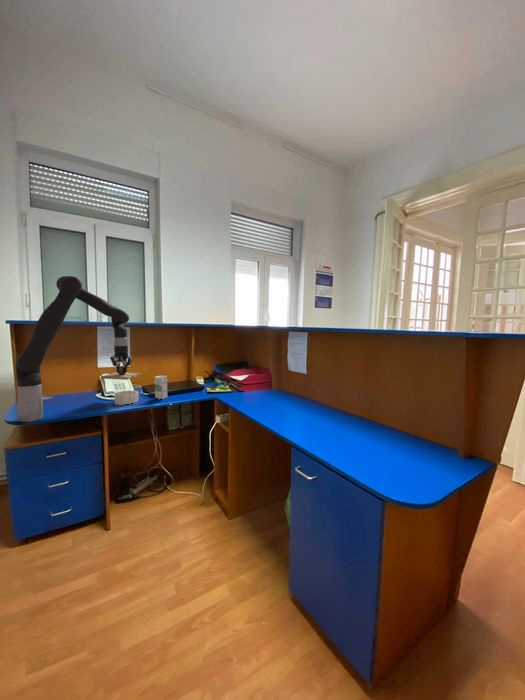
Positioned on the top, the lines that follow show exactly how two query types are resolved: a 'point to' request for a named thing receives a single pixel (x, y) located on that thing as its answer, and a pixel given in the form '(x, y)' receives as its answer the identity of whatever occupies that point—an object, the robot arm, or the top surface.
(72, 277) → the robot arm
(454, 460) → the top surface
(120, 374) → the oak lid
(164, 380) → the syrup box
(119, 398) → the cream bowl
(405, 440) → the top surface
